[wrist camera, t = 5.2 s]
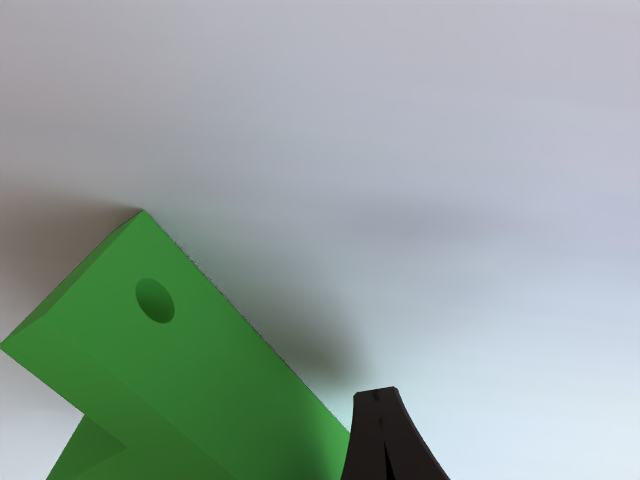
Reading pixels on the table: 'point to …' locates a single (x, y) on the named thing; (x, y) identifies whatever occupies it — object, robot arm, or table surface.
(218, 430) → the pipe clamp
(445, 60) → the table surface
